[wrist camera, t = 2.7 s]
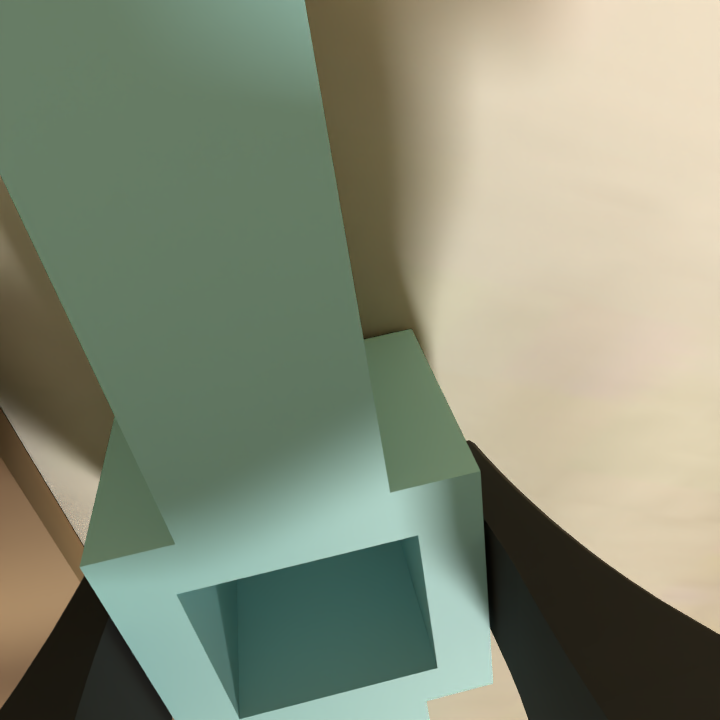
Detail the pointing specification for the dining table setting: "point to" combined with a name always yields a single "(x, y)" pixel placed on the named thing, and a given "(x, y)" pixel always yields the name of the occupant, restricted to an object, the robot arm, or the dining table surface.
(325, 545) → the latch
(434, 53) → the dining table surface
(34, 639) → the board
